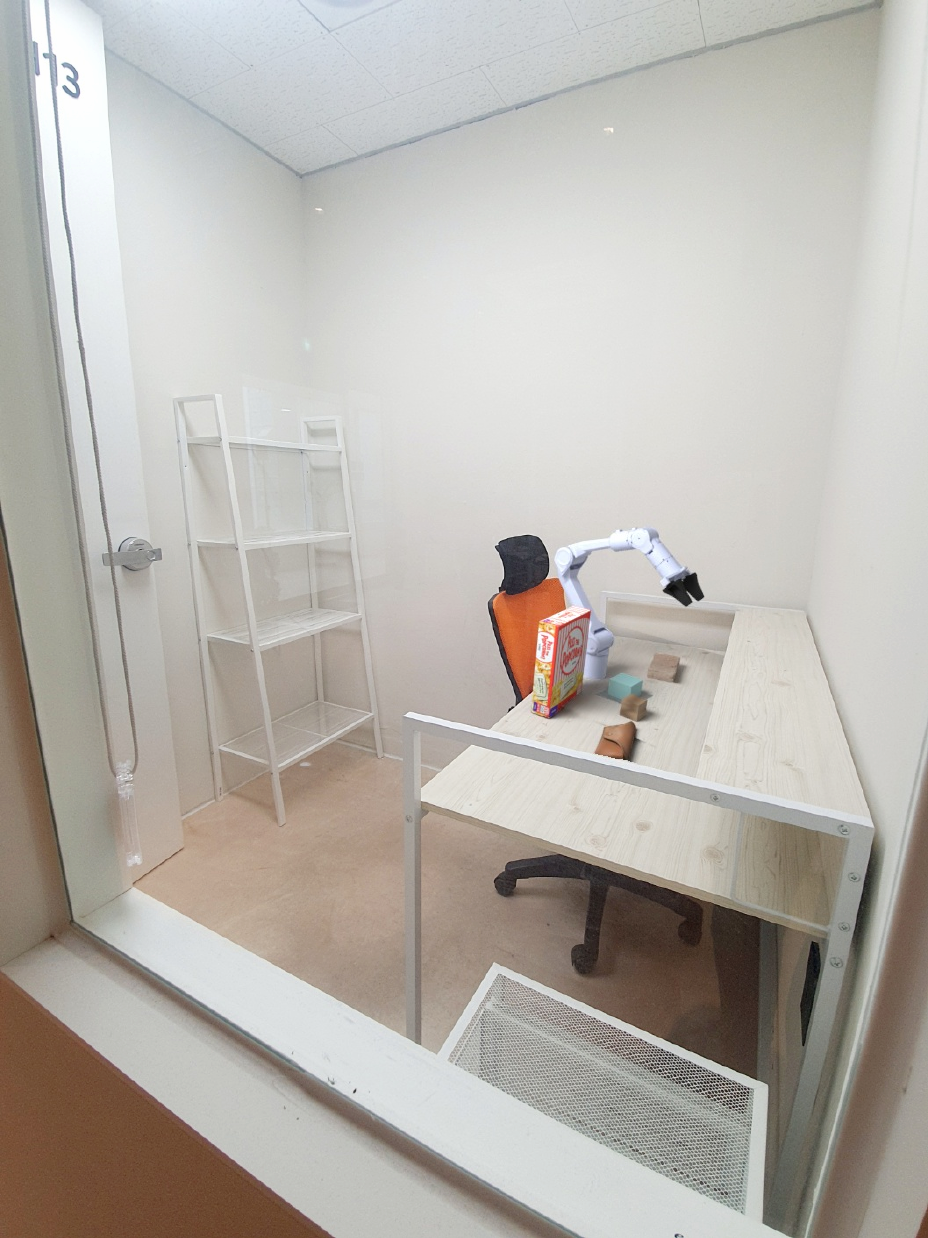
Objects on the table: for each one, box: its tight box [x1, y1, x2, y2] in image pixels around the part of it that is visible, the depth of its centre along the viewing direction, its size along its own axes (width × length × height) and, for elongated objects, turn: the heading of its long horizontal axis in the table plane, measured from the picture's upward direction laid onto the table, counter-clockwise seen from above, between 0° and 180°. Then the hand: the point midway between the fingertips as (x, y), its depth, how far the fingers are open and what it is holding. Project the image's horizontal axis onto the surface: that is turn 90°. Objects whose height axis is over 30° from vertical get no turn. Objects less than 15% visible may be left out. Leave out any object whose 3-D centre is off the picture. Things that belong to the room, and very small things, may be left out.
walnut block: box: [619, 694, 648, 723], centre depth 146 cm, size 5×5×6 cm
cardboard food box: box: [530, 605, 591, 718], centre depth 151 cm, size 20×6×27 cm, turn 143°
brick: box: [646, 652, 681, 683], centre depth 177 cm, size 17×8×5 cm, turn 153°
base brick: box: [608, 672, 644, 700], centre depth 158 cm, size 7×7×5 cm
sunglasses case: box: [593, 720, 637, 761], centre depth 133 cm, size 18×7×7 cm
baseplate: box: [596, 686, 653, 705], centre depth 159 cm, size 12×12×1 cm
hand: (695, 601), depth 144 cm, fingers open, 7 cm apart
